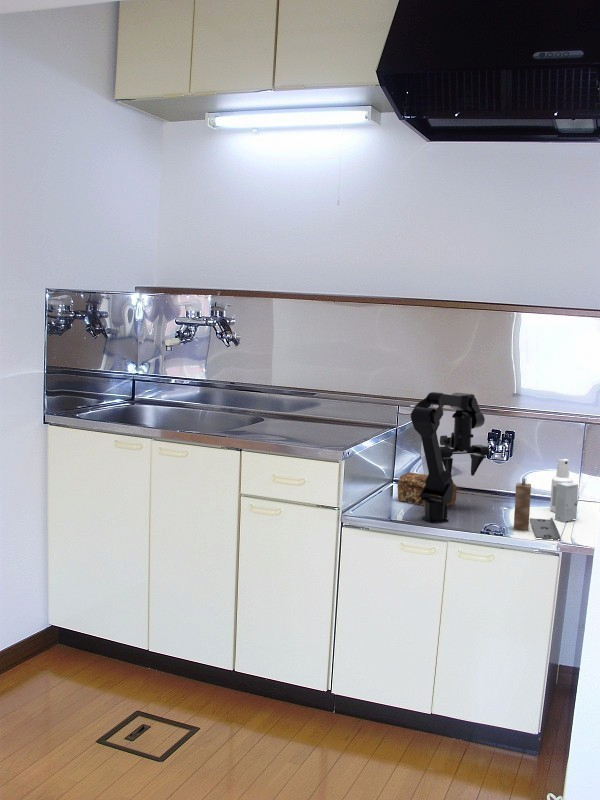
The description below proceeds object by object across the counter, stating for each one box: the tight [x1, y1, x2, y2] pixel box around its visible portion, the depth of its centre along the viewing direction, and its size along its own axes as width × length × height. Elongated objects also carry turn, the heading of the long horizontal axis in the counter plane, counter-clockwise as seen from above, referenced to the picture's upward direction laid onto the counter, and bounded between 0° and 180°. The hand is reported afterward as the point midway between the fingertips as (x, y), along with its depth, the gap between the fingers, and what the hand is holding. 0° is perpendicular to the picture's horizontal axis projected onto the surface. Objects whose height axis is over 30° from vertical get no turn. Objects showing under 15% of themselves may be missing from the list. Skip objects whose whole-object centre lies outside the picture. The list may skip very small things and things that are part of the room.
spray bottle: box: [549, 458, 574, 513], centre depth 283 cm, size 7×7×18 cm
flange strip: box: [529, 517, 561, 541], centre depth 259 cm, size 22×7×1 cm, turn 169°
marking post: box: [513, 478, 532, 532], centre depth 259 cm, size 4×4×16 cm
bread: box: [396, 472, 458, 507], centre depth 292 cm, size 19×11×10 cm, turn 56°
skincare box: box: [554, 482, 579, 523], centre depth 272 cm, size 6×4×12 cm
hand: (460, 476), depth 279 cm, fingers open, 9 cm apart
